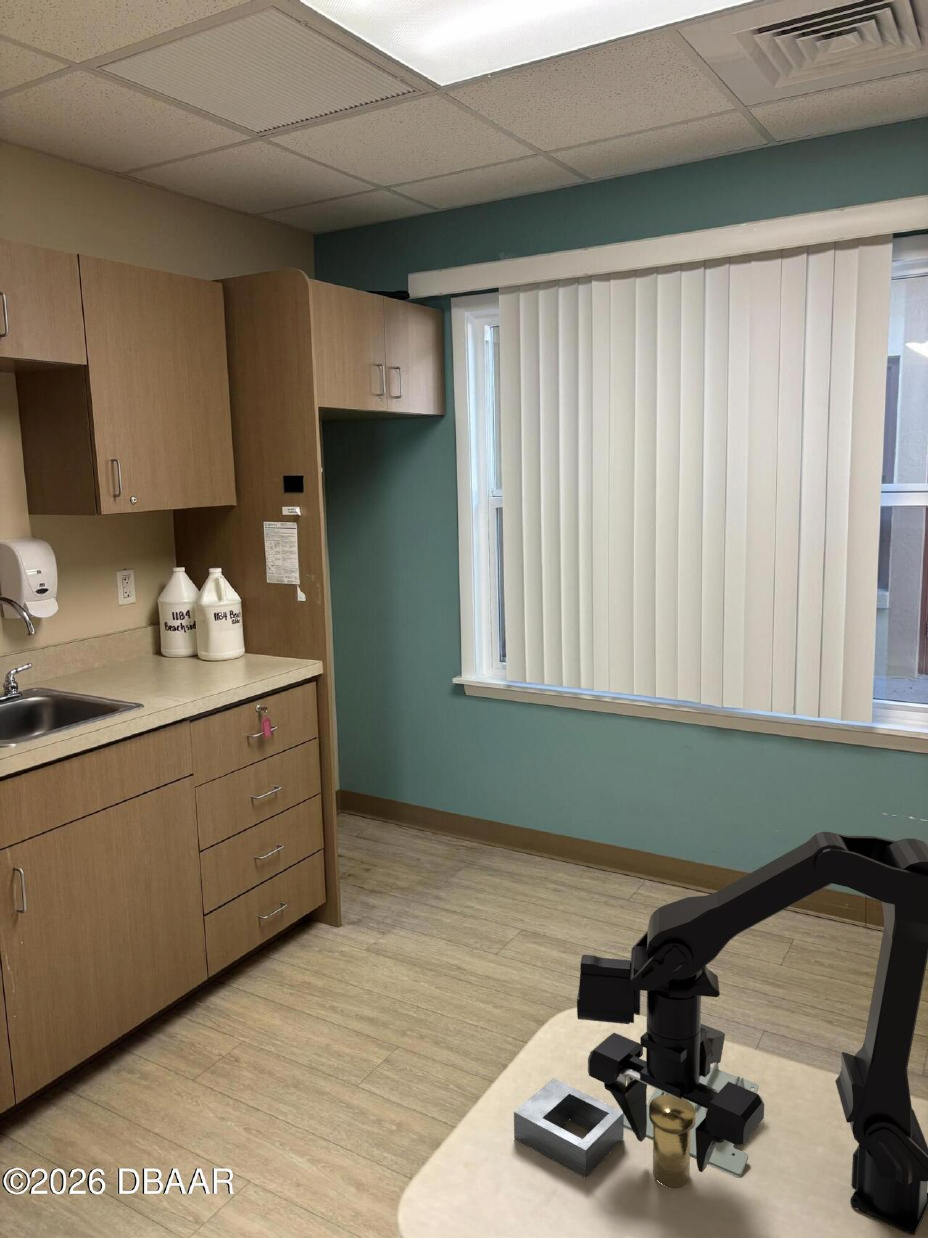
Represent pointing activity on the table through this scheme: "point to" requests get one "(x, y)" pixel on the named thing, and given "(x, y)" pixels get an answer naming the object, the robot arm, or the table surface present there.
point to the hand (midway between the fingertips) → (671, 1154)
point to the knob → (671, 1139)
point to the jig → (544, 1133)
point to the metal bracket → (722, 1151)
